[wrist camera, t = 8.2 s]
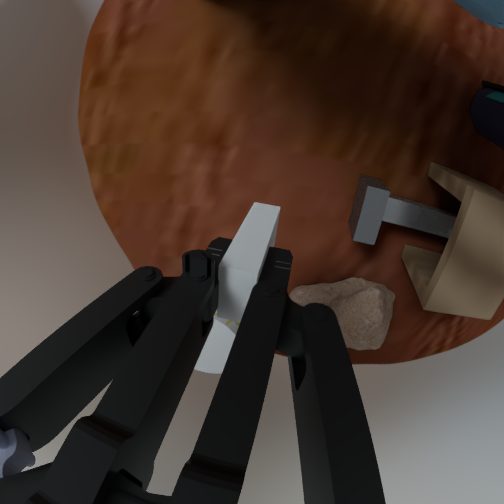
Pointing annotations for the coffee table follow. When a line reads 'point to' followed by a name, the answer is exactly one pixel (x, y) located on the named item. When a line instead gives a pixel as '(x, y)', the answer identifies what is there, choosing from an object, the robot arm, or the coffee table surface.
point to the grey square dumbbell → (392, 212)
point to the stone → (353, 308)
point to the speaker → (489, 112)
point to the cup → (217, 345)
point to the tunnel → (463, 252)
